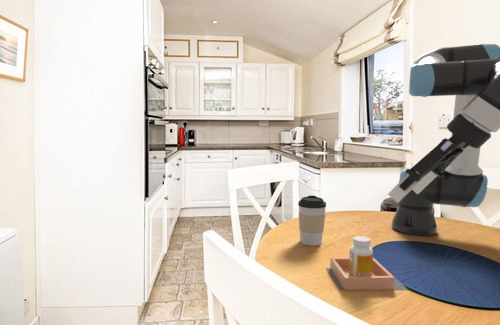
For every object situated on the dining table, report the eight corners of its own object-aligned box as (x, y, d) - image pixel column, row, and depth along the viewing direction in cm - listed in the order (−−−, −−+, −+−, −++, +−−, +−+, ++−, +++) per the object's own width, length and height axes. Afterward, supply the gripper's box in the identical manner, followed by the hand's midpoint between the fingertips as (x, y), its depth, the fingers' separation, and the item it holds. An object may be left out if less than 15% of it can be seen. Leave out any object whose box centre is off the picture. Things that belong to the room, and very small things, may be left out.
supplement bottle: (375, 277, 80) (378, 239, 79) (364, 283, 77) (366, 244, 76) (356, 269, 84) (358, 233, 83) (344, 275, 81) (346, 238, 80)
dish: (372, 268, 87) (373, 257, 87) (394, 289, 75) (394, 277, 75) (330, 268, 86) (330, 257, 86) (344, 290, 75) (345, 278, 74)
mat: (384, 269, 87) (384, 267, 87) (407, 291, 75) (407, 289, 75) (325, 269, 86) (325, 268, 86) (339, 292, 75) (339, 290, 75)
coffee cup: (325, 248, 102) (326, 201, 101) (296, 245, 104) (297, 199, 102) (324, 238, 111) (326, 195, 109) (297, 236, 113) (299, 194, 111)
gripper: (481, 135, 55) (396, 215, 66) (502, 134, 73) (432, 197, 84) (444, 109, 59) (369, 189, 70) (472, 114, 77) (409, 177, 88)
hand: (403, 194), depth 77 cm, fingers open, 13 cm apart
